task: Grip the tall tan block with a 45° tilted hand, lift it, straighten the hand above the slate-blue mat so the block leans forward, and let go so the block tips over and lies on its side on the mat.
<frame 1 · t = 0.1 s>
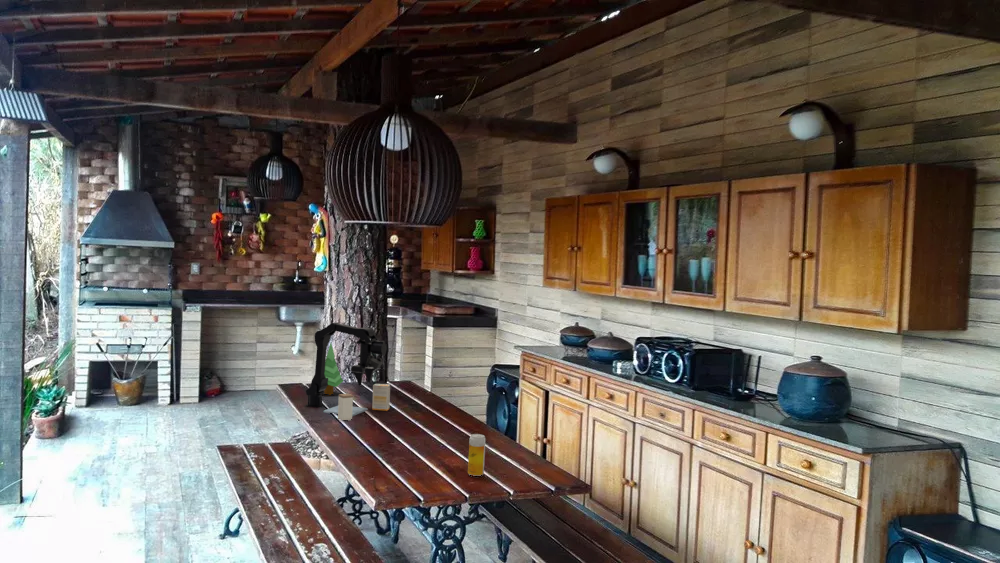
hand: (364, 383, 367), 15 cm above the table, tool pointing down, fingers open, 9 cm apart
decorative tree: (328, 394, 406), on the table
slate mat: (345, 411, 367), on the table
beer glass: (475, 475, 274), on the table
supplement box: (380, 409, 376), on the table
tan block: (344, 419, 350), on the table
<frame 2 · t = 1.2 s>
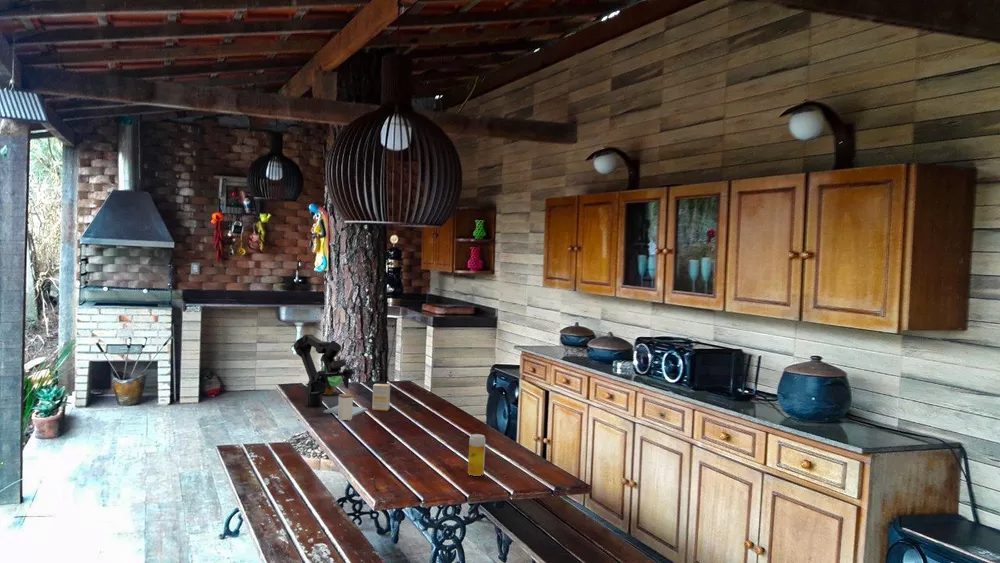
hand: (339, 389, 356), 13 cm above the table, tool tilted 45°, fingers open, 9 cm apart
nothing on the table moved.
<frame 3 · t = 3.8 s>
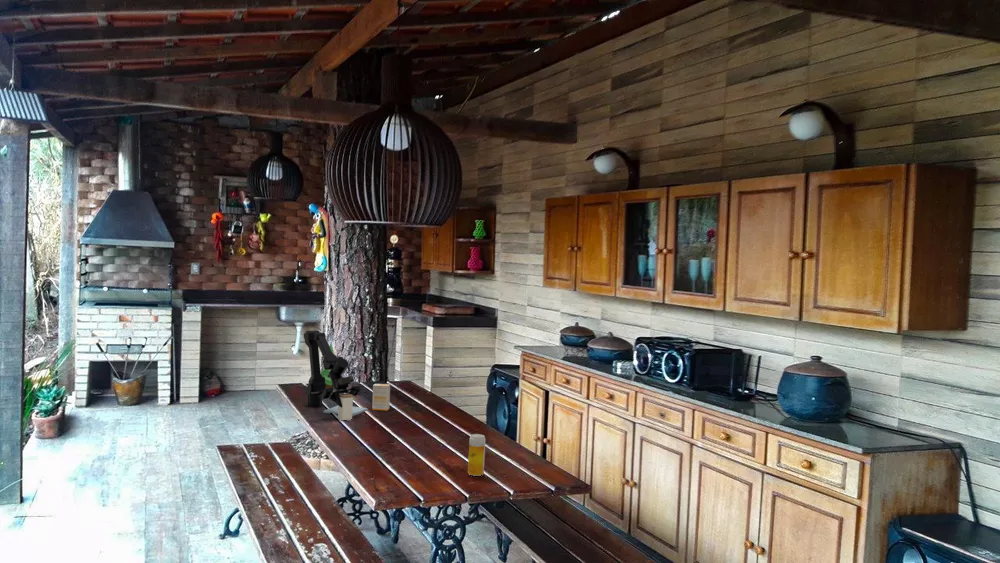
hand: (346, 406, 349), 7 cm above the table, tool tilted 45°, fingers closed on tan block, 5 cm apart
tan block: (344, 419, 350), on the table, touching gripper
everything else where it was.
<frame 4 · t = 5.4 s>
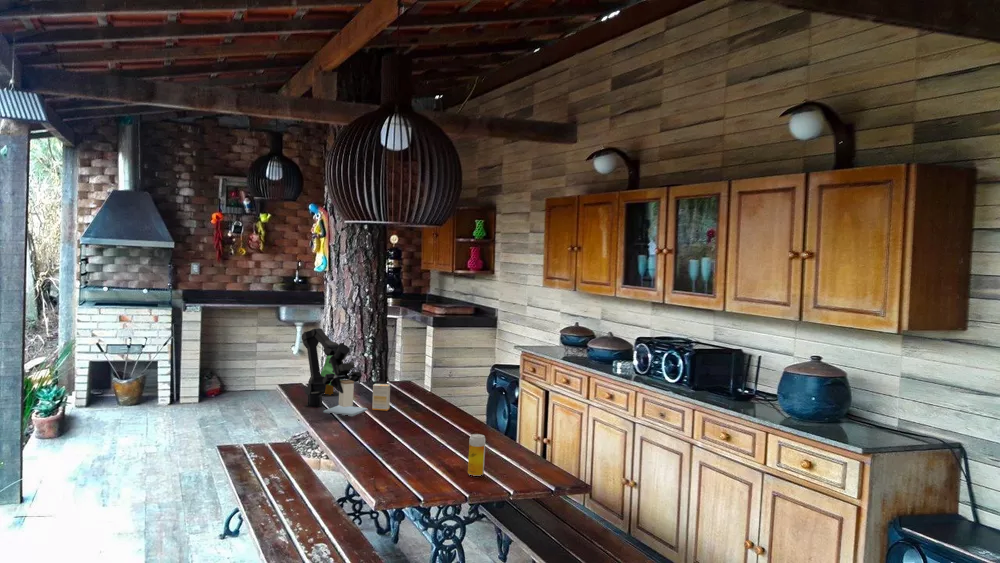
hand: (347, 392, 349), 13 cm above the table, tool tilted 45°, fingers closed on tan block, 5 cm apart
tan block: (345, 405, 351), point 7 cm above the table, touching gripper
everything else where it was.
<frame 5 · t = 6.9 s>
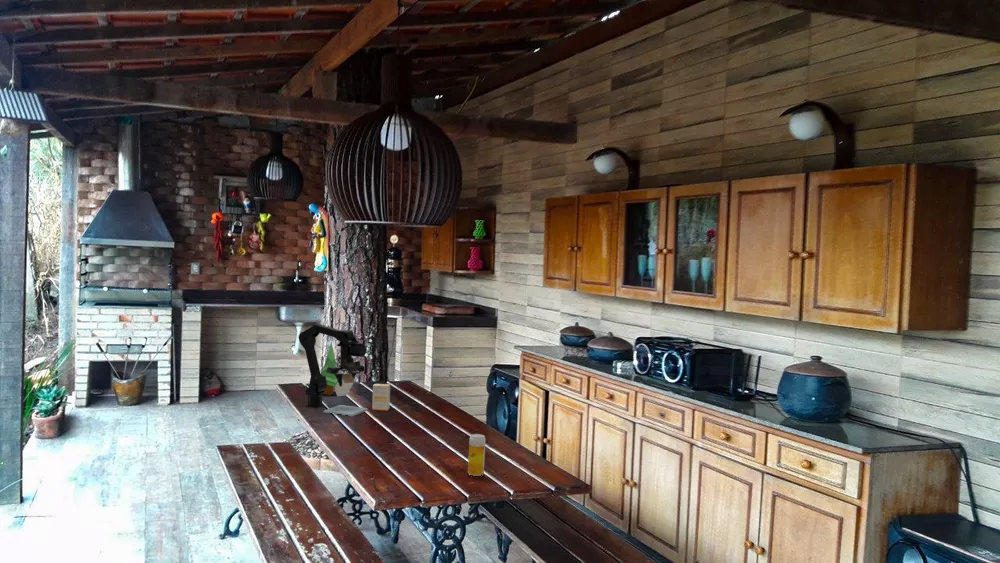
hand: (345, 386, 367), 13 cm above the table, tool pointing down, fingers closed on tan block, 5 cm apart
tan block: (340, 391, 372), point 9 cm above the table, tilted 43°, touching gripper
everything else where it was.
when the fingers open (7 cm above the table, at t = 9.4 s): tan block moves 2 cm and tips over, resting on slate mat.
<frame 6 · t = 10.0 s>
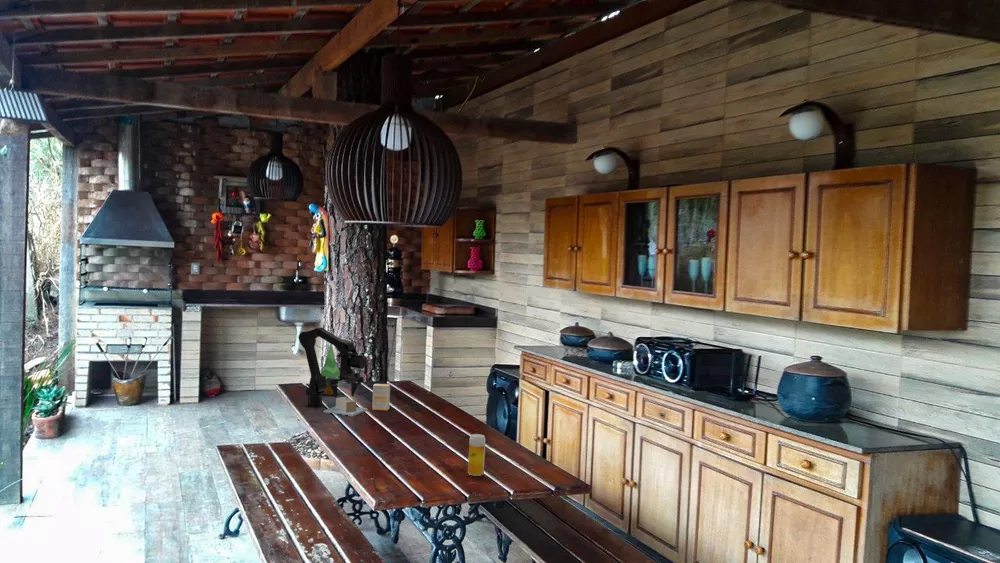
hand: (344, 397, 368), 7 cm above the table, tool pointing down, fingers open, 9 cm apart
tan block: (340, 402, 371), point 3 cm above the table, tilted 90°, touching slate mat
everything else where it was.
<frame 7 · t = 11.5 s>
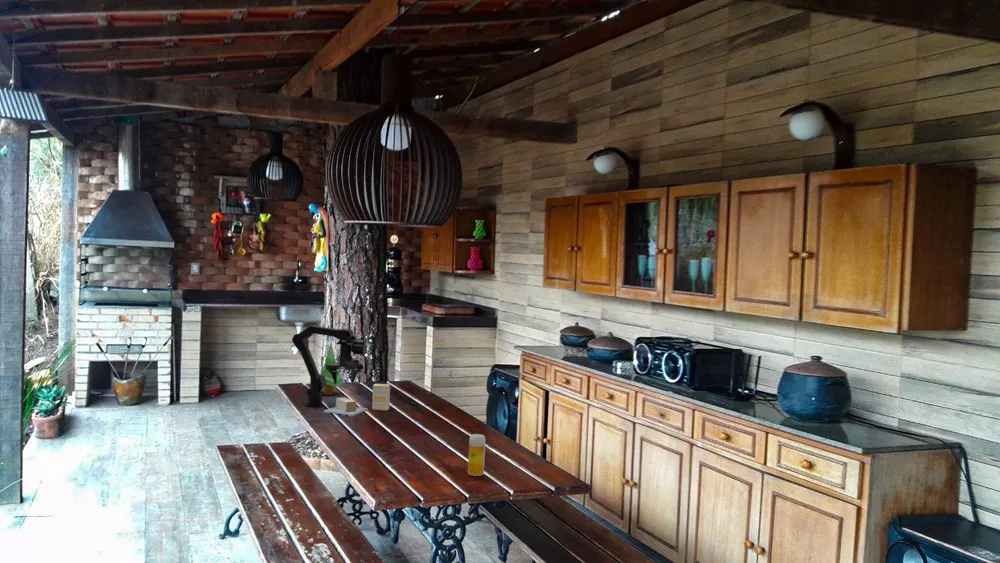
hand: (343, 383, 374), 13 cm above the table, tool pointing down, fingers open, 9 cm apart
nothing on the table moved.
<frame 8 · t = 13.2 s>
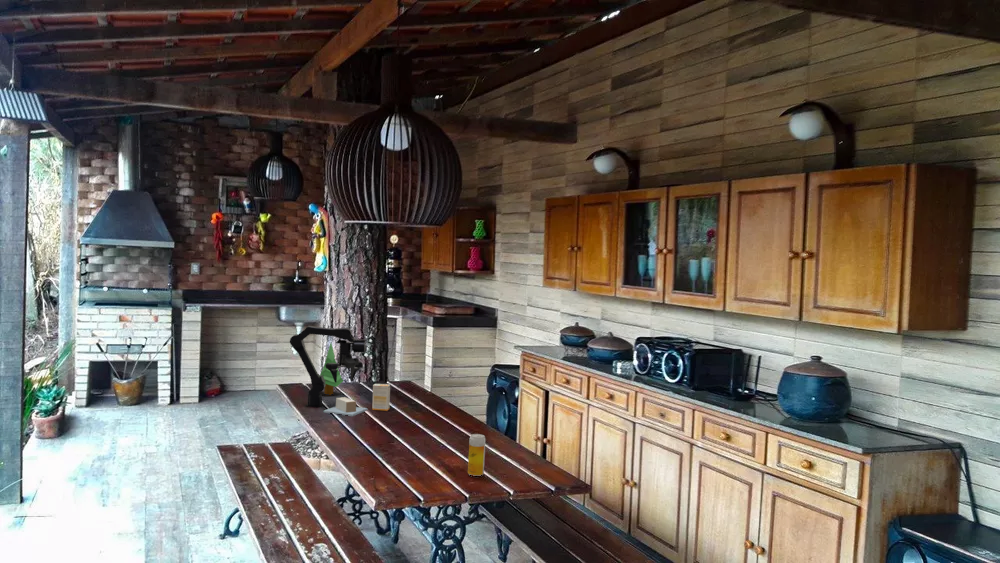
hand: (343, 381, 377), 13 cm above the table, tool pointing down, fingers open, 9 cm apart
nothing on the table moved.
at the end: tan block tilted 90°; tan block inside the target area on the slate mat (5.9 cm from its centre), point 3.5 cm above the slate mat's base; the gripper is holding nothing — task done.
